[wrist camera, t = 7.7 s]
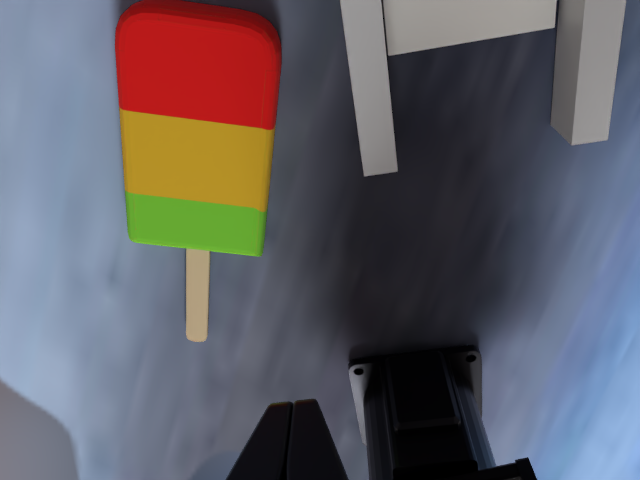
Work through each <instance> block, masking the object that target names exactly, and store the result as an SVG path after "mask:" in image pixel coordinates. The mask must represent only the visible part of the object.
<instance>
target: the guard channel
mask: <svg viewBox="0 0 640 480" xmlns="http://www.w3.org/2000/svg"><path fill="white" fill-rule="evenodd" d="M382 1H383V11H384V22H385V32H386V43H387V53H388V56H391V55H397V54H403V53H409V52H415V51H421V50H426V49H432V48H438V47H444V46H450V45H456V44H462V43H468V42H473V41H479V40H485V39H491V38H497V37H503V36H509V35H514V34H520V33H526V32H532V31H538V30H544V29H550V28H555V16H556V1H557V0H382ZM340 5H341V13H342V20H343V27H344V35H345V42H346V49H347V57H348V64H349V71H350V79H351V86H352V93H353V101H354V108H355V115H356V123H357V130H358V138H359V145H360V152H361V159H362V165H363V172H364V177H365V176H371V175H378V174H385V173H391V172H398V169H397V159H396V148H395V138H394V128H393V117H392V107H391V97H390V87H389V76H388V66H387V56H386V46H385V35H384V25H383V15H382V4H381V0H340ZM625 5H626V0H559V10H558V24H557V38H556V53H555V67H554V81H553V96H552V110H551V124H550V125H551V126H552V127H553V128H554V129H555V130H556V131H557V132H558V133H559V134H560V135H561V136H562V137H563V138H564V139H565V140H566V141H567V142H568V143H570V144H571V145H578V144H585V143H591V142H598V141H605V140H608V133H609V125H610V118H611V110H612V103H613V95H614V88H615V80H616V73H617V65H618V58H619V50H620V43H621V35H622V28H623V20H624V13H625Z"/></svg>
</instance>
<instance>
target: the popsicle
mask: <svg viewBox="0 0 640 480" xmlns="http://www.w3.org/2000/svg"><path fill="white" fill-rule="evenodd" d="M169 9H170V10H169ZM176 10H177V11H176ZM231 18H232V19H231ZM115 54H116V68H117V83H118V97H119V111H120V126H121V140H122V155H123V169H124V184H125V198H126V213H127V227H128V235H129V238H130V240H131V241H133V242H136V243H143V244H152V245H161V246H170V247H179V248H186V336H187V338H188V339H189V340H191V341H195V342H203V341H205V340H206V338H207V335H208V313H209V280H210V251H214V252H223V253H232V254H241V255H250V256H262V253H263V248H264V240H265V229H266V219H267V208H268V198H269V188H270V177H271V167H272V157H273V146H274V136H275V125H276V115H277V105H278V94H279V84H280V73H281V63H282V58H281V43H280V39H279V36H278V33H277V31H276V29H275V28H274V27H273V25H272V24H271V23H270V21H268V20H267V19H265V18H264V17H262V16H260V15H259V14H257V13H253V12H250V11H246V10H242V9H236V8H229V7H223V6H216V5H209V4H202V3H195V2H188V1H182V0H142V1H139V2H136V3H135V4H133V5H131V6H130V7H129V8H128V9H127V10H126V11H125V12H124V13H123V14H122V15H121V16H120V19H119V21H118V24H117V27H116V33H115ZM151 195H152V196H151Z"/></svg>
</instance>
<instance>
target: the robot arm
mask: <svg viewBox="0 0 640 480" xmlns="http://www.w3.org/2000/svg"><path fill="white" fill-rule="evenodd" d="M469 355H472V356H469ZM357 368H361V369H357ZM348 369H349V377H350V382H351V387H352V392H353V397H354V402H355V407H356V412H357V417H358V423H359V428H360V433H361V438H362V442H363V444H364V445H365V446H367V457H368V469H369V480H537V478H536V476H535V473H534V471H533V468H532V466H531V463H530V461H529V459H528V457H527V458H522V459H518V460H515V463H510V464H505V465H501V466H496V464H495V460H494V457H493V454H492V451H491V447H490V444H489V441H488V438H487V434H486V431H485V428H484V425H483V421H482V362H481V354H480V351H479V349H478V348H477V347H476V346H473V345H468V346H460V347H451V348H443V349H434V350H426V351H417V352H409V353H400V354H392V355H384V356H375V357H367V358H358V359H354V360H352V361H350V363H349V366H348ZM226 480H349V479H348V477H347V474H346V472H345V469H344V467H343V464H342V462H341V459H340V457H339V454H338V452H337V449H336V447H335V444H334V442H333V439H332V437H331V434H330V431H329V429H328V426H327V424H326V421H325V419H324V416H323V414H322V411H321V409H320V406H319V404H318V402H317V400H316V399H305V400H297V401H295V402H294V404H293V403H292V402H289V401H288V402H279V403H272V404H270V405H269V406H268V407H267V409H266V410H265V412H264V414H263V416H262V417H261V419H260V421H259V423H258V424H257V426H256V428H255V430H254V431H253V433H252V435H251V436H250V438H249V440H248V442H247V443H246V445H245V447H244V449H243V450H242V452H241V454H240V455H239V457H238V459H237V461H236V462H235V464H234V466H233V468H232V469H231V471H230V473H229V475H228V476H227V478H226Z"/></svg>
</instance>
